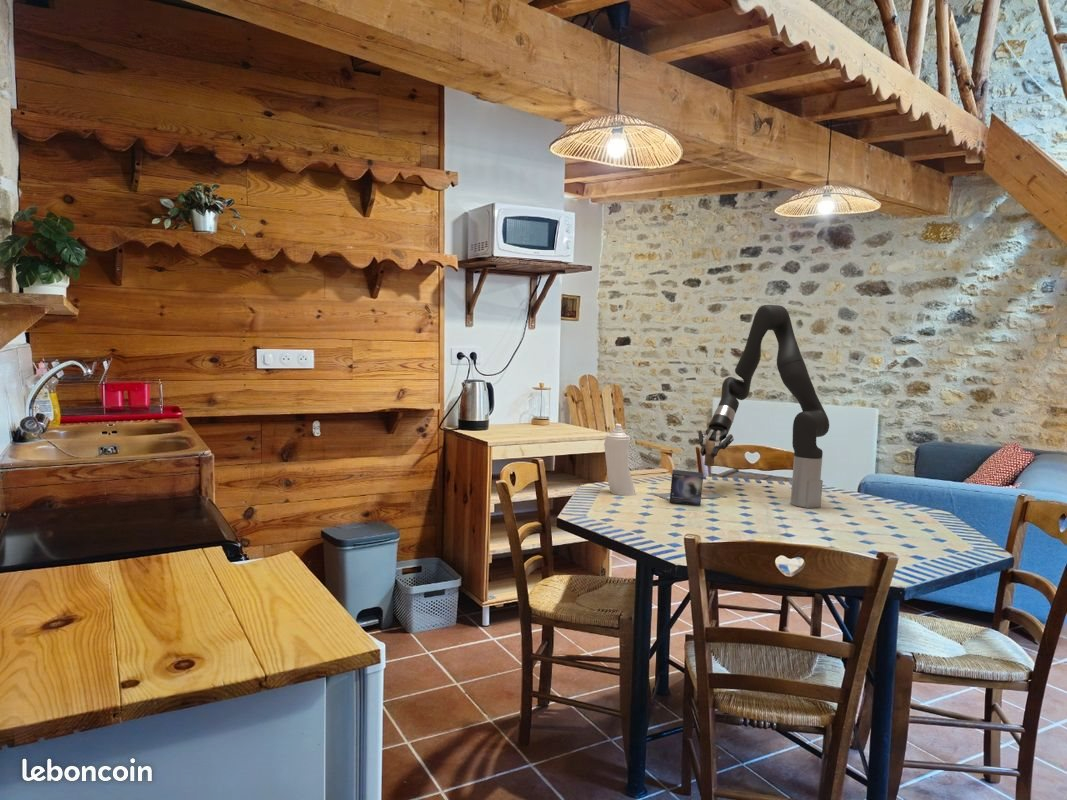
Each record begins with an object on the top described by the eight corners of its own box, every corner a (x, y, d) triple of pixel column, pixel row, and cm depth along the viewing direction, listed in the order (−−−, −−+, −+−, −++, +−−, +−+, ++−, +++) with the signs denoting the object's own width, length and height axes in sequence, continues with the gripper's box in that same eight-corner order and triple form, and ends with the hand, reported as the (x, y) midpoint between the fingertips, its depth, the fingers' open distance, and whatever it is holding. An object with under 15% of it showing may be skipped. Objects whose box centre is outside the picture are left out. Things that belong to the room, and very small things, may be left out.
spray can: (613, 496, 246) (617, 426, 244) (597, 490, 256) (600, 422, 254) (640, 494, 252) (644, 425, 250) (623, 488, 261) (627, 422, 259)
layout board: (727, 497, 253) (727, 496, 253) (669, 500, 243) (669, 500, 243) (710, 491, 262) (710, 490, 262) (653, 494, 253) (653, 493, 253)
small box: (669, 502, 240) (671, 472, 238) (669, 498, 246) (672, 469, 245) (700, 506, 237) (703, 476, 236) (700, 501, 244) (703, 472, 242)
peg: (715, 465, 257) (717, 441, 256) (708, 466, 255) (709, 441, 255) (709, 464, 260) (711, 440, 259) (702, 464, 258) (703, 440, 258)
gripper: (702, 411, 266) (687, 446, 257) (738, 415, 258) (723, 451, 249) (707, 424, 271) (692, 459, 262) (742, 428, 262) (728, 464, 254)
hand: (707, 455), depth 256 cm, fingers closed on peg, 3 cm apart
